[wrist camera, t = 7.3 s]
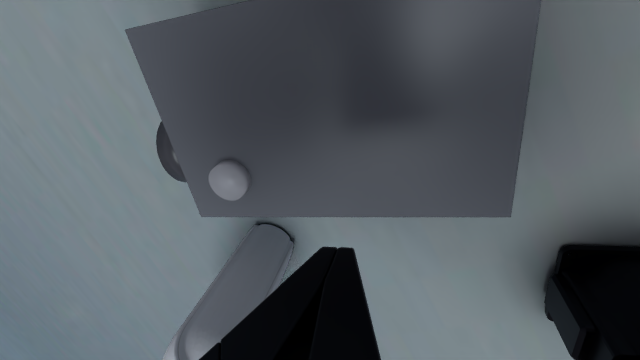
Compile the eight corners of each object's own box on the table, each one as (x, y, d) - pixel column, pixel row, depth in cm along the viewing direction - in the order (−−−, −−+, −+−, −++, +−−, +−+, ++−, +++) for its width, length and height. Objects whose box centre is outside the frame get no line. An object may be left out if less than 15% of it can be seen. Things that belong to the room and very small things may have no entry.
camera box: (499, -43, 13) (562, -82, 8) (482, 163, 18) (515, 226, 12) (174, 29, 18) (81, 34, 13) (224, 175, 23) (170, 223, 18)
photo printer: (268, 307, 29) (191, 471, 19) (228, 287, 29) (130, 440, 19) (303, 236, 24) (223, 411, 13) (254, 213, 24) (137, 368, 13)
